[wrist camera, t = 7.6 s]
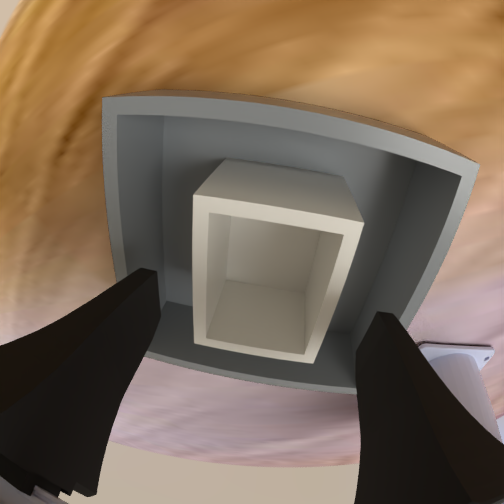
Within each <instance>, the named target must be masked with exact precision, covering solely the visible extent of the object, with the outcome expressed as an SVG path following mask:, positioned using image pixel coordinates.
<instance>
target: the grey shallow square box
mask: <svg viewBox="0 0 504 504" xmlns="http://www.w3.org/2000/svg"><path fill="white" fill-rule="evenodd" d="M102 151H103V173H104V187H105V199H106V210H107V219H108V228H109V236H110V243H111V250H112V257H113V263H114V269H115V275H116V281H117V283H118V282H119V281H120V280H122V279H123V278H125V277H126V276H128V275H129V274H131V273H133V272H134V271H136V270H137V269H139V268H146V269H150V270H155V271H157V275H158V287H159V298H160V308H161V318H160V321H159V324H158V327H157V329H156V332H155V335H154V337H153V340H152V342H151V344H150V346H149V348H148V350H147V352H146V354H145V355H144V357H148V358H151V359H155V360H158V361H162V362H165V363H169V364H173V365H177V366H181V367H185V368H189V369H193V370H197V371H201V372H206V373H210V374H215V375H219V376H224V377H229V378H234V379H239V380H245V381H250V382H256V383H262V384H268V385H274V386H281V387H288V388H295V389H303V390H312V391H321V392H331V393H343V394H357V390H356V380H355V362H356V350H357V348H358V347H359V345H360V343H361V341H362V339H363V337H364V335H365V334H366V332H367V330H368V328H369V326H370V324H371V322H372V320H373V318H374V316H375V314H376V312H377V311H380V312H387V313H393V314H394V315H395V316H396V317H397V319H398V320H399V321H400V323H401V324H402V325H403V327H404V328H405V330H407V328H408V327H409V325H410V323H411V322H412V320H413V318H414V316H415V315H416V313H417V311H418V309H419V308H420V306H421V304H422V302H423V300H424V299H425V297H426V295H427V293H428V291H429V289H430V287H431V285H432V283H433V281H434V279H435V277H436V275H437V273H438V271H439V269H440V267H441V265H442V263H443V261H444V259H445V257H446V254H447V252H448V250H449V248H450V245H451V243H452V241H453V239H454V236H455V234H456V231H457V229H458V227H459V224H460V222H461V219H462V216H463V214H464V211H465V209H466V206H467V203H468V200H469V198H470V195H471V192H472V189H473V186H474V183H475V180H476V177H477V173H478V170H479V167H480V164H478V163H477V162H475V161H473V160H471V159H470V158H468V157H466V156H464V155H463V154H461V153H459V152H457V151H455V150H453V149H451V148H450V147H448V146H446V145H444V144H442V143H440V142H438V141H436V140H434V139H432V138H430V137H427V136H424V135H422V134H419V133H416V132H413V131H410V130H407V129H404V128H401V127H398V126H394V125H391V124H388V123H384V122H381V121H377V120H374V119H370V118H367V117H363V116H359V115H355V114H351V113H347V112H343V111H339V110H334V109H330V108H325V107H320V106H315V105H310V104H305V103H300V102H294V101H288V100H282V99H275V98H268V97H261V96H253V95H245V94H235V93H224V92H211V91H194V90H150V91H142V92H134V93H127V94H120V95H114V96H108V97H102ZM226 158H235V159H242V160H250V161H257V162H264V163H271V164H277V165H283V166H289V167H295V168H301V169H307V170H312V171H318V172H323V173H328V174H333V175H338V176H343V177H344V179H345V181H346V183H347V185H348V187H349V190H350V192H351V194H352V196H353V198H354V200H355V203H356V205H357V207H358V209H359V212H360V214H361V216H362V219H363V221H364V226H363V229H362V232H361V235H360V239H359V242H358V245H357V248H356V251H355V254H354V257H353V260H352V263H351V266H350V269H349V272H348V275H347V278H346V281H345V284H344V286H343V289H342V292H341V295H340V297H339V300H338V303H337V306H336V308H335V311H334V313H333V316H332V319H331V321H330V324H329V326H328V329H327V331H326V334H325V336H324V339H323V341H322V344H321V346H320V349H319V351H318V353H317V356H316V358H315V360H314V363H313V364H312V363H304V362H296V361H289V360H282V359H275V358H269V357H263V356H257V355H251V354H245V353H240V352H234V351H229V350H224V349H219V348H214V347H209V346H204V345H200V344H195V343H194V324H193V281H192V229H193V194H194V193H195V192H196V191H197V190H198V188H199V187H200V186H201V185H202V184H203V183H204V182H205V181H206V179H207V178H208V177H209V176H210V175H211V174H212V173H213V172H214V171H215V169H216V168H217V167H218V166H219V165H220V164H221V163H222V162H223V161H224V160H225V159H226Z"/></svg>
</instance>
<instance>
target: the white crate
mask: <svg viewBox="0 0 504 504" xmlns="http://www.w3.org/2000/svg"><path fill="white" fill-rule="evenodd" d="M363 226H364V221H363V219H362V216H361V214H360V212H359V209H358V207H357V205H356V203H355V200H354V198H353V196H352V194H351V192H350V190H349V187H348V185H347V183H346V181H345V179H344V177H343V176H338V175H333V174H328V173H323V172H318V171H312V170H307V169H301V168H295V167H289V166H283V165H277V164H271V163H264V162H257V161H250V160H242V159H235V158H226V159H225V160H224V161H223V162H222V163H221V164H220V165H219V166H218V167H217V168H216V169H215V171H214V172H213V173H212V174H211V175H210V176H209V177H208V178H207V179H206V181H205V182H204V183H203V184H202V185H201V186H200V187H199V188H198V190H197V191H196V192H195V193H194V194H193V229H192V281H193V324H194V343H195V344H200V345H204V346H209V347H214V348H219V349H224V350H229V351H234V352H240V353H245V354H251V355H257V356H263V357H269V358H275V359H282V360H289V361H296V362H304V363H312V364H313V363H314V360H315V358H316V356H317V353H318V351H319V349H320V346H321V344H322V341H323V339H324V336H325V334H326V331H327V329H328V326H329V324H330V321H331V319H332V316H333V313H334V311H335V308H336V306H337V303H338V300H339V297H340V295H341V292H342V289H343V286H344V284H345V281H346V278H347V275H348V272H349V269H350V266H351V263H352V260H353V257H354V254H355V251H356V248H357V245H358V242H359V239H360V235H361V232H362V229H363Z"/></svg>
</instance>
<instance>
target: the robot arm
mask: <svg viewBox="0 0 504 504" xmlns="http://www.w3.org/2000/svg"><path fill="white" fill-rule="evenodd" d="M160 318H161V308H160V298H159V287H158V275H157V271H155V270H150V269H146V268H139V269H137V270H136V271H134V272H133V273H131V274H129V275H128V276H126V277H125V278H123V279H122V280H120V281H119V282H118V283H116V284H115V285H113V286H112V287H110V288H109V289H107V290H106V291H104V292H103V293H101V294H100V295H98V296H97V297H95V298H94V299H92V300H90V301H89V302H87V303H86V304H84V305H82V306H81V307H79V308H77V309H76V310H74V311H73V312H71V313H69V314H68V315H66V316H64V317H63V318H61V319H59V320H57V321H55V322H53V323H51V324H49V325H48V326H46V327H44V328H42V329H40V330H38V331H35V332H33V333H31V334H28V335H26V336H24V337H21V338H19V339H17V340H14V341H12V342H9V343H6V344H4V345H1V346H0V504H68V503H67V502H65V501H63V500H61V499H59V498H58V496H59V494H60V491H62V492H63V493H65V494H67V495H69V496H70V495H71V494H72V491H73V490H74V491H76V492H78V493H80V494H82V495H84V496H86V497H91V496H94V495H96V494H97V487H98V482H99V476H100V471H101V466H102V462H103V458H104V454H105V450H106V446H107V443H108V439H109V436H110V433H111V430H112V426H113V423H114V420H115V418H116V415H117V412H118V409H119V406H120V403H121V401H122V399H123V396H124V394H125V392H126V390H127V388H128V386H129V384H130V382H131V380H132V378H133V376H134V374H135V373H136V371H137V369H138V367H139V365H140V363H141V361H142V359H143V357H144V355H145V354H146V352H147V350H148V348H149V346H150V344H151V342H152V340H153V337H154V335H155V332H156V329H157V327H158V324H159V321H160ZM494 353H495V350H494V348H493V347H477V346H457V345H441V344H427V343H426V344H422V345H420V346H419V347H417V345H416V344H415V342H414V341H413V339H412V338H411V337H410V335H409V334H408V332H407V331H406V330H405V328H404V327H403V325H402V324H401V323H400V321H399V320H398V319H397V317H396V316H395V315H394V314H393V313H387V312H380V311H377V312H376V314H375V316H374V318H373V320H372V322H371V324H370V326H369V328H368V330H367V332H366V334H365V335H364V337H363V339H362V341H361V343H360V345H359V347H358V348H357V350H356V362H355V380H356V390H357V400H358V410H359V421H360V434H361V450H360V465H359V475H358V483H357V491H356V497H355V502H354V504H504V444H503V443H502V440H501V436H500V432H499V428H498V425H497V421H496V418H495V414H494V411H493V408H492V405H491V402H490V399H489V396H488V393H487V390H486V387H485V384H484V381H483V379H482V376H481V373H480V370H481V369H482V368H483V367H484V365H485V364H486V363H487V362H488V361H489V359H490V358H491V357H492V356H493V355H494Z"/></svg>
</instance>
